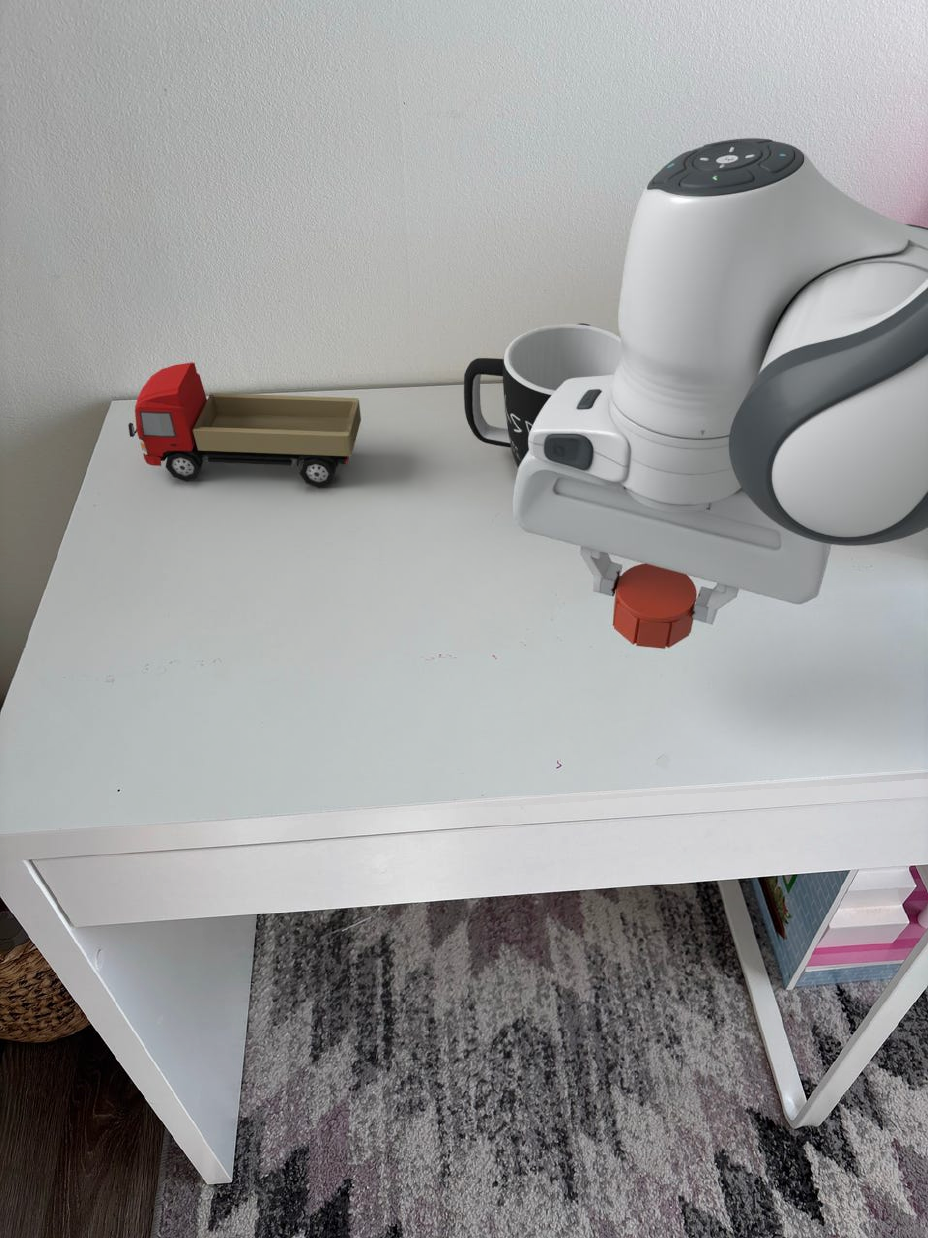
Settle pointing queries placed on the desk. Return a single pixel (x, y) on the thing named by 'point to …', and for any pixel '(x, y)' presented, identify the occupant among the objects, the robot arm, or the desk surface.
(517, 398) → the mug
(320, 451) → the toy truck
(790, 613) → the desk surface
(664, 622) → the cap
